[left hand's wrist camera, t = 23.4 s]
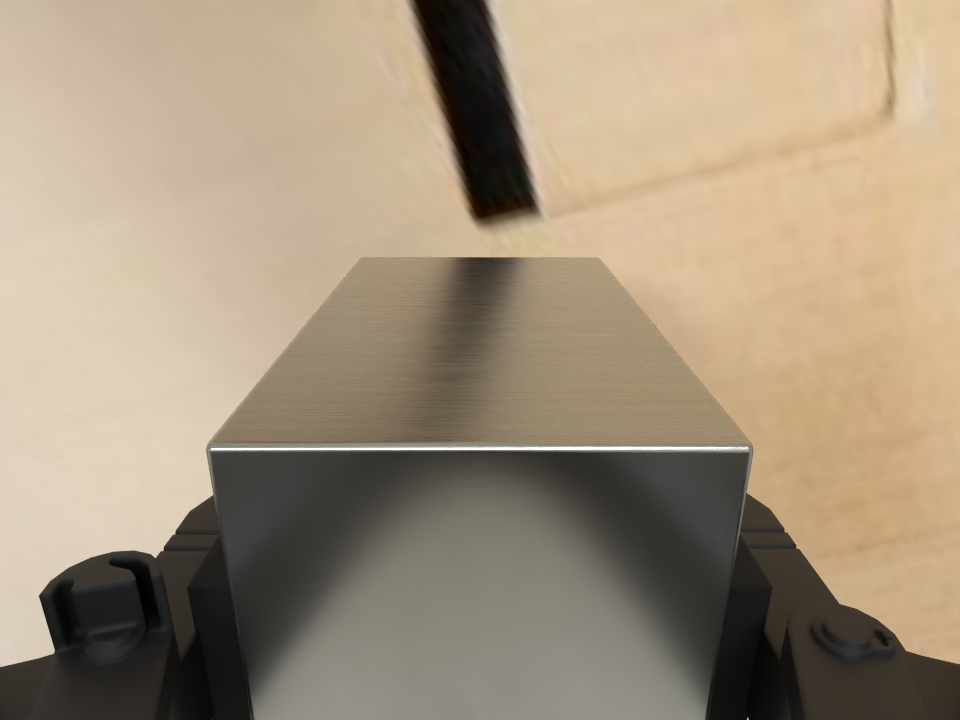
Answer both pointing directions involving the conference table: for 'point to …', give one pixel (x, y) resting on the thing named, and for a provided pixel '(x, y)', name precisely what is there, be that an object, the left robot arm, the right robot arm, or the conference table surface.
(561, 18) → the conference table surface
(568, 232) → the conference table surface
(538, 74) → the conference table surface
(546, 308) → the metal block
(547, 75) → the conference table surface
